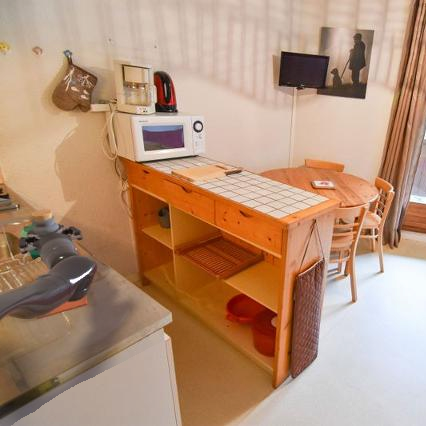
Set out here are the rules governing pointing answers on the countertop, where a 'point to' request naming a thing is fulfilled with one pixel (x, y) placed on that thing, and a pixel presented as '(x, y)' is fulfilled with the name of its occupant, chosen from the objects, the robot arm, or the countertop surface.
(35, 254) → the cup
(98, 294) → the countertop surface
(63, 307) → the mats
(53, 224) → the bottle
